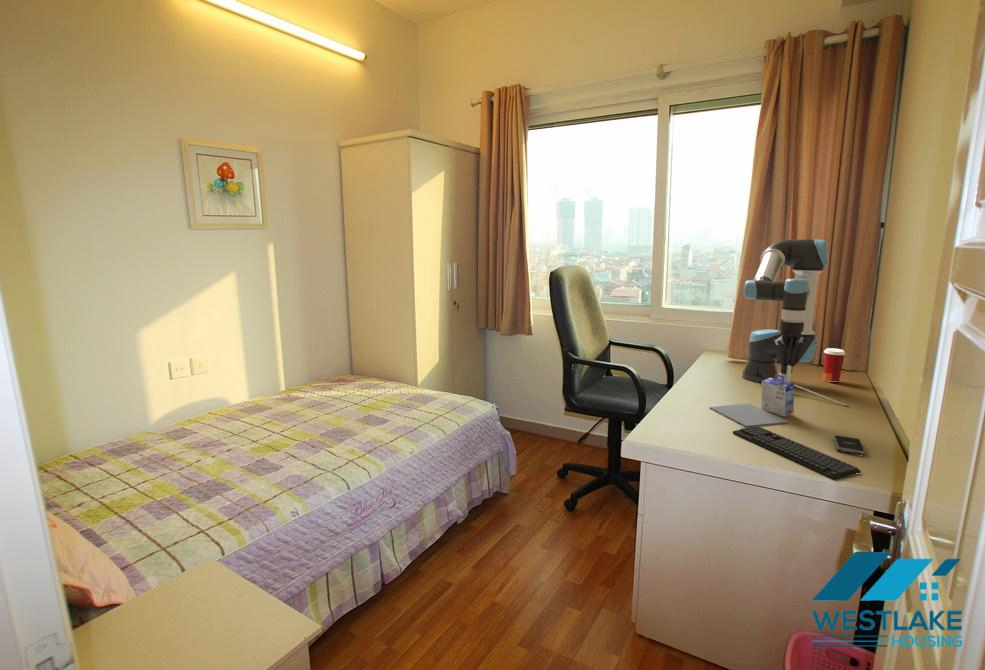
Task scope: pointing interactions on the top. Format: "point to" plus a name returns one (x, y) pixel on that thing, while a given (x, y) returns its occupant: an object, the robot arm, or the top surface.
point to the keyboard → (797, 452)
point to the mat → (748, 415)
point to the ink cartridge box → (778, 396)
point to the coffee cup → (833, 364)
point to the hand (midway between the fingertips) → (785, 382)
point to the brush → (813, 392)
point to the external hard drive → (849, 445)
